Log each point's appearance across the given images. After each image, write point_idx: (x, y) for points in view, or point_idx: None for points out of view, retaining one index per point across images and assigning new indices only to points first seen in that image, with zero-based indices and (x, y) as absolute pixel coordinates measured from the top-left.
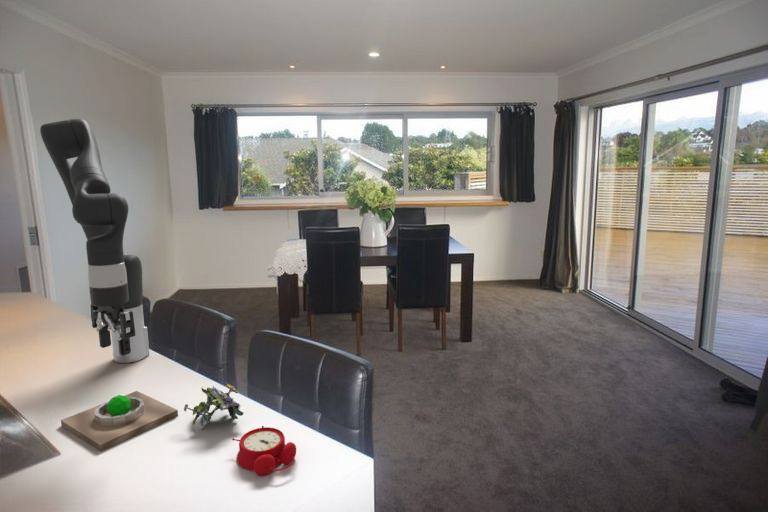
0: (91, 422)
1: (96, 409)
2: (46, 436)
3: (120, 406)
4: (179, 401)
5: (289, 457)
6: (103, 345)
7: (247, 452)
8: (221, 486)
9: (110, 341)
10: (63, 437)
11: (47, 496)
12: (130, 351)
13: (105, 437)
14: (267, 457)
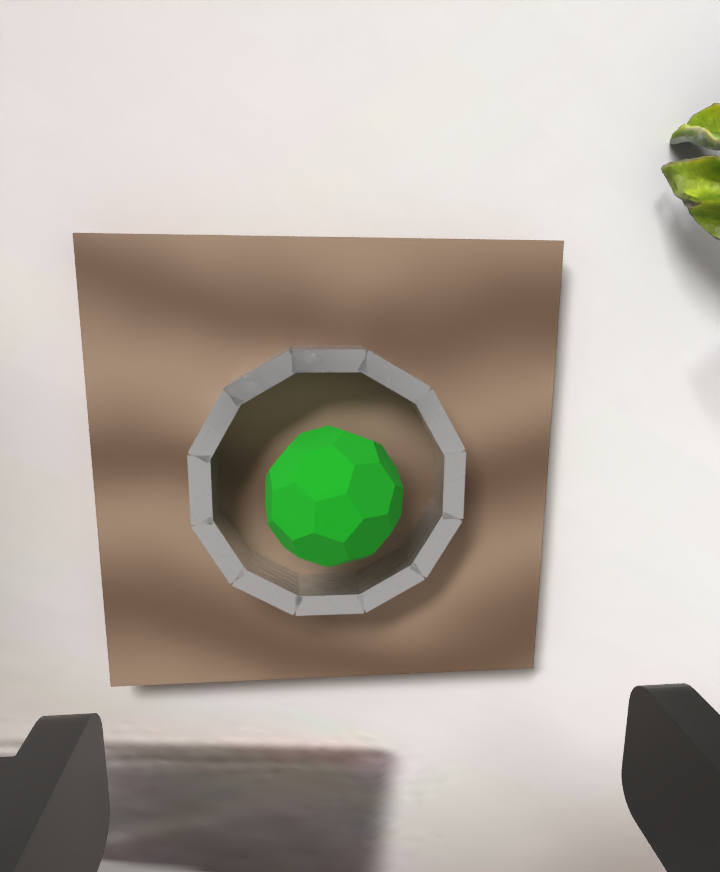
0: None
1: (241, 583)
2: (172, 740)
3: (396, 522)
4: (397, 117)
5: None
6: (99, 835)
7: None
8: None
9: (75, 754)
10: (250, 698)
11: (630, 865)
12: (687, 688)
13: (491, 626)
14: None
